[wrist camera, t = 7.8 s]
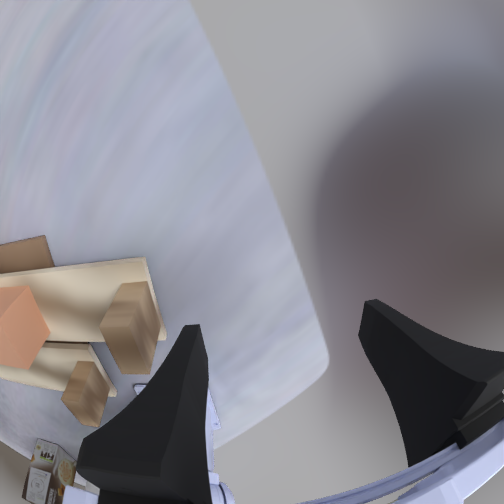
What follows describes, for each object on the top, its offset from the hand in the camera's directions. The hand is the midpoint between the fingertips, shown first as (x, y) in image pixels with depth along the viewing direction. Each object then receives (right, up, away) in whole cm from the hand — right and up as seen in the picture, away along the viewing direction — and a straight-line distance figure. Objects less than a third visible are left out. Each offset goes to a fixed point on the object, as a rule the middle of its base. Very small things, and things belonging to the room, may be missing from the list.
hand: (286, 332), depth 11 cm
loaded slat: (-19, -1, +9) cm, 21 cm away
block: (-22, -2, +7) cm, 24 cm away
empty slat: (-26, -9, +11) cm, 30 cm away
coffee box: (-42, -38, +23) cm, 61 cm away
